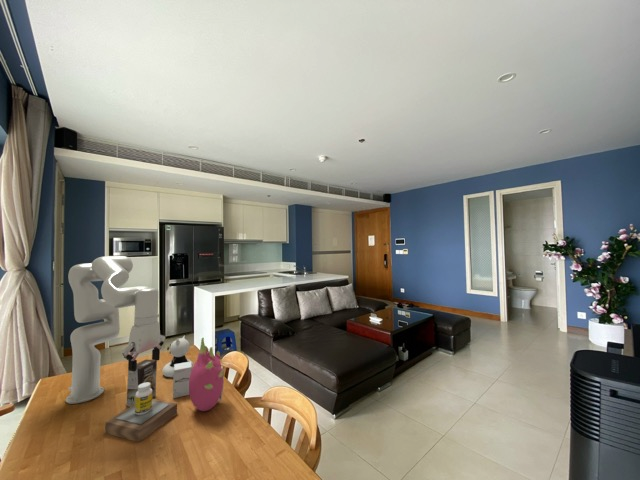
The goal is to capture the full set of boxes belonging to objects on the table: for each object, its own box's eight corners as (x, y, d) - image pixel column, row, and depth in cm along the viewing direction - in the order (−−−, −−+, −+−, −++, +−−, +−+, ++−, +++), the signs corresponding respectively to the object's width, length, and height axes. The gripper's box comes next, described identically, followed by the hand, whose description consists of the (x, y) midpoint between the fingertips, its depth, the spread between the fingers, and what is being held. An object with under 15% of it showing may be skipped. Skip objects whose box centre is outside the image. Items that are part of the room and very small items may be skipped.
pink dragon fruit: (227, 415, 103) (229, 339, 104) (189, 426, 96) (191, 345, 97) (219, 393, 118) (221, 327, 119) (186, 402, 111) (188, 332, 112)
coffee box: (138, 408, 107) (139, 368, 108) (125, 406, 109) (127, 367, 109) (156, 396, 116) (157, 359, 117) (144, 394, 117) (145, 358, 118)
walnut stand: (105, 433, 92) (105, 420, 93) (146, 407, 108) (146, 396, 108) (139, 442, 88) (139, 429, 88) (177, 413, 104) (177, 402, 104)
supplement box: (172, 399, 114) (173, 370, 114) (173, 391, 120) (173, 363, 121) (191, 394, 117) (191, 366, 118) (190, 387, 124) (191, 360, 124)
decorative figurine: (170, 366, 146) (171, 331, 146) (197, 365, 147) (197, 330, 148) (156, 379, 131) (157, 340, 132) (186, 378, 132) (187, 339, 133)
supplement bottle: (138, 417, 95) (139, 390, 95) (132, 412, 97) (132, 386, 98) (154, 409, 99) (155, 383, 100) (147, 405, 102) (148, 379, 102)
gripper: (158, 314, 109) (156, 355, 108) (116, 325, 92) (114, 374, 92) (172, 315, 107) (170, 357, 106) (131, 327, 90) (130, 377, 90)
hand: (144, 365), depth 99 cm, fingers open, 9 cm apart
